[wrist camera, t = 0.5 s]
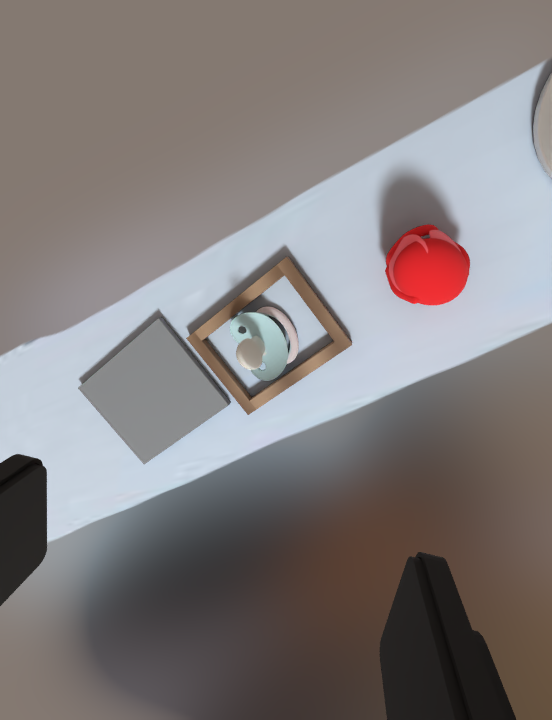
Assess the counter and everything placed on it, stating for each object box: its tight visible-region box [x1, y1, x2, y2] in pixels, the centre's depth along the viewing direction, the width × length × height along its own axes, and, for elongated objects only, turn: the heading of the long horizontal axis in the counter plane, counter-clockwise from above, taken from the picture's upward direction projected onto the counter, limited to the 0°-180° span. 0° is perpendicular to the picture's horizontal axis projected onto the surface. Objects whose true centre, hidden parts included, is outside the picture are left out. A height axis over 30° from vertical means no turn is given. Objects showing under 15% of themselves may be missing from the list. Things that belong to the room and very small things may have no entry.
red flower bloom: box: [385, 225, 470, 305], centre depth 33 cm, size 8×6×6 cm
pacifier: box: [230, 306, 299, 381], centre depth 37 cm, size 7×6×6 cm
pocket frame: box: [186, 257, 352, 415], centre depth 39 cm, size 14×11×1 cm
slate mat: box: [78, 317, 231, 464], centre depth 44 cm, size 14×12×1 cm
